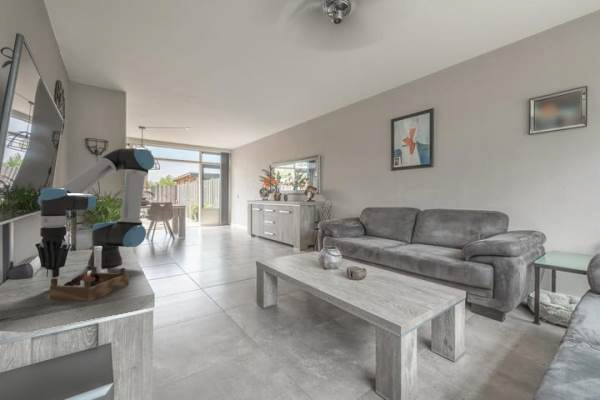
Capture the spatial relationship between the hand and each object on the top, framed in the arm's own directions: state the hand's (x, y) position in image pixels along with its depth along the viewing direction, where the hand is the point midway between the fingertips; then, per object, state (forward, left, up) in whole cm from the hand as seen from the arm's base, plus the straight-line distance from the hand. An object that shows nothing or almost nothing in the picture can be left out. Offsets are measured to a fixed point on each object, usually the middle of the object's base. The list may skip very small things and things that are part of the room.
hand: (52, 285), depth 104 cm
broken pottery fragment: (+1, +14, -2) cm, 15 cm away
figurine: (-13, +7, -2) cm, 15 cm away
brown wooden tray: (0, +16, -2) cm, 16 cm away
